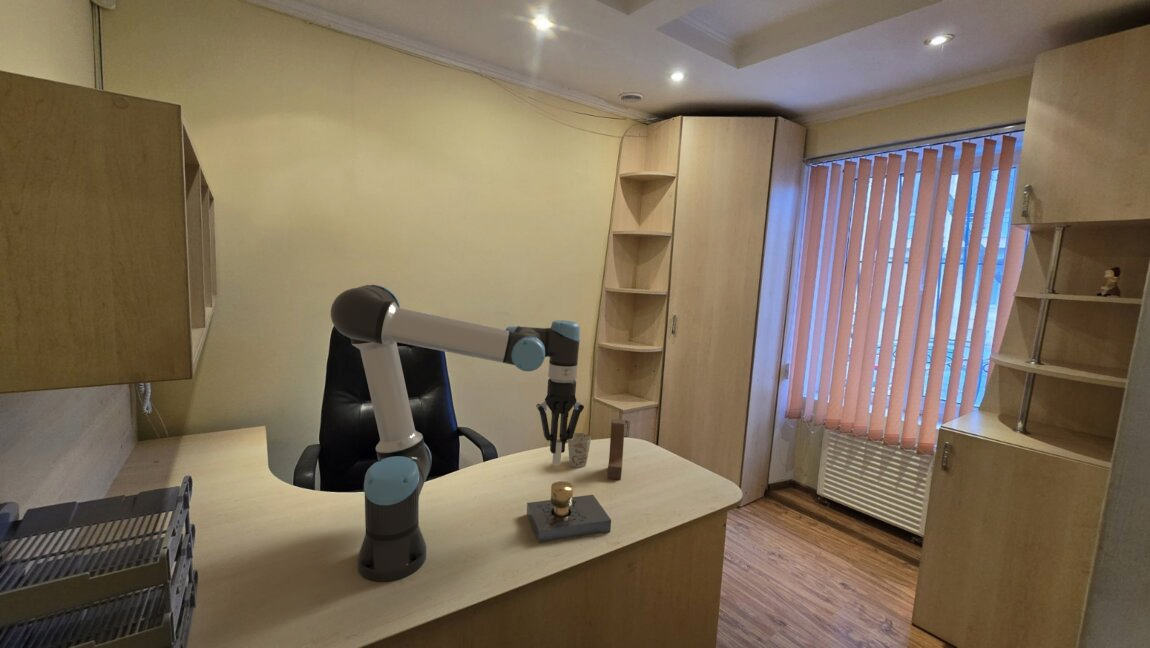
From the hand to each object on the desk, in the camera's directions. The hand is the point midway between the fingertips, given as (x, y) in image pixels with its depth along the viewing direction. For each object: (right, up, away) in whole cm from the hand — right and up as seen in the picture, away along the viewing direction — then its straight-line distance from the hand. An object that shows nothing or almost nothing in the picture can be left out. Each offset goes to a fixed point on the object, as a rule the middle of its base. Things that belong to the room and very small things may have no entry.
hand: (556, 463), depth 127 cm
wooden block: (+19, -14, +34) cm, 41 cm away
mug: (+7, -12, +43) cm, 45 cm away
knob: (+1, -17, +2) cm, 18 cm away
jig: (+3, -17, +3) cm, 18 cm away
